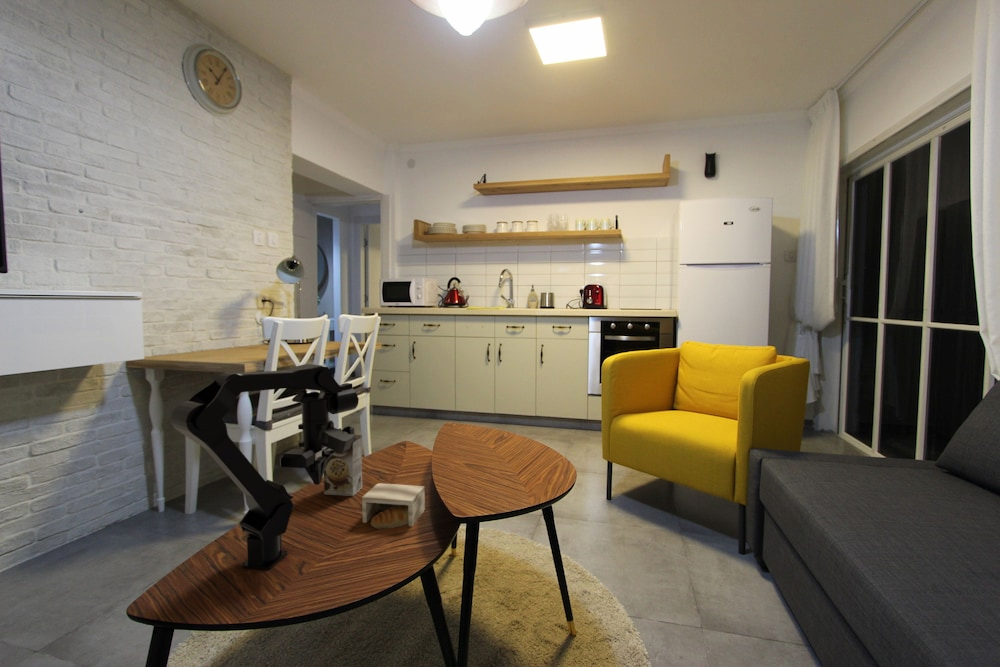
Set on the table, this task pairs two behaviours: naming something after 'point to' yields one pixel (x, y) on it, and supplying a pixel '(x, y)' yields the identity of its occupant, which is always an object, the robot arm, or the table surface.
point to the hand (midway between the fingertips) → (317, 484)
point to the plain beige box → (394, 500)
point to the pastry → (391, 517)
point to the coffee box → (344, 471)
